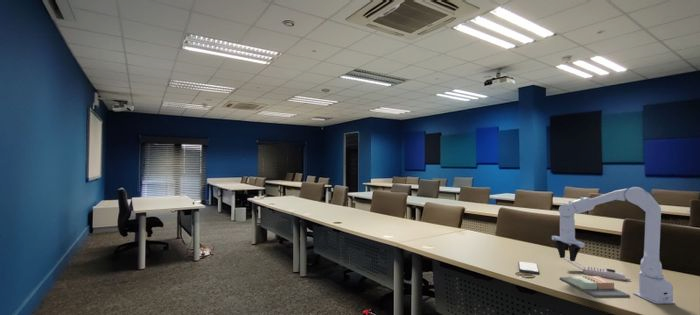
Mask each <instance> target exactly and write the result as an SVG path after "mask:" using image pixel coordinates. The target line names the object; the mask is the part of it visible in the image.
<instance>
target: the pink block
mask: <svg viewBox="0 0 700 315" xmlns="http://www.w3.org/2000/svg"><path fill="white" fill-rule="evenodd" d="M583 277H585V278H587V279H589V280H592V281H594V282H596V283H597V289H614V288H615V282H613V281H611V280H608V279H607V278H605V277H601V276H595V275H587V276H586V275H584V276H583Z"/></svg>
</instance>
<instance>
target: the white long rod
mask: <svg viewBox="0 0 700 315" xmlns="http://www.w3.org/2000/svg"><path fill="white" fill-rule="evenodd" d="M563 259H564V260H565V261H567V262H568V263H570V264H571V265H572V266H575V267H576V268H578V269H579V270H581V271H582V273H583V274H585V275H589V276H599V277H602V278H606V279H614V280H620V281H627V282H628V281H629V282H631V279H630V278H626V275H625V273H624V271H623V272H622V271H620V270H616V269H612V268H601V267H593V266H586V265H584V266H583V265H581V264H579V263H578V262H576V260H575V261H570V257H568V256H565V258H563Z"/></svg>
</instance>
